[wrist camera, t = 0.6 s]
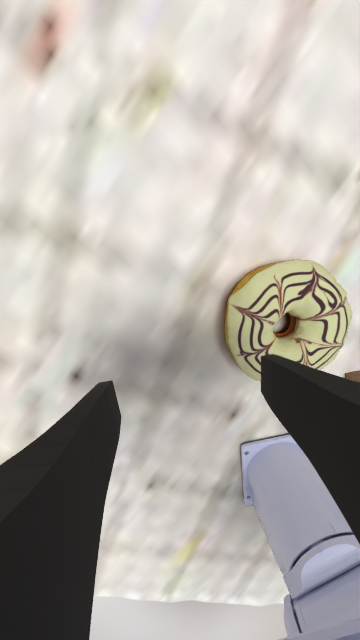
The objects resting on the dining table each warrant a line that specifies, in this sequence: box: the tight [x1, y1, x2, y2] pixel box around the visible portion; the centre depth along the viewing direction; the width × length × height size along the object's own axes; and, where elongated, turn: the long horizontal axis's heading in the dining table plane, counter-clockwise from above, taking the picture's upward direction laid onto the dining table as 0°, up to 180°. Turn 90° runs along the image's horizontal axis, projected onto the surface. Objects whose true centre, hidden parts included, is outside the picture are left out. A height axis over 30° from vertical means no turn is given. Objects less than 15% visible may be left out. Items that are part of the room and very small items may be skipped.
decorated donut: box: [225, 259, 352, 381], centre depth 19 cm, size 10×11×4 cm
